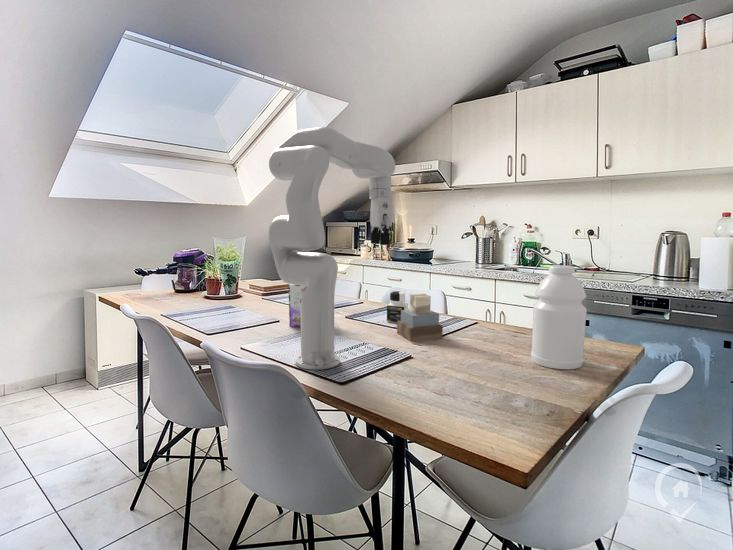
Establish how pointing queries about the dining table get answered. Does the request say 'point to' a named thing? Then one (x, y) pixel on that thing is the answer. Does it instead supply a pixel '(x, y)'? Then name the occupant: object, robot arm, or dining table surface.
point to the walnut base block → (419, 332)
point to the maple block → (420, 303)
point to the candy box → (295, 304)
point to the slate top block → (419, 318)
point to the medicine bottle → (396, 306)
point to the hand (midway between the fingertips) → (379, 244)
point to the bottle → (559, 320)
